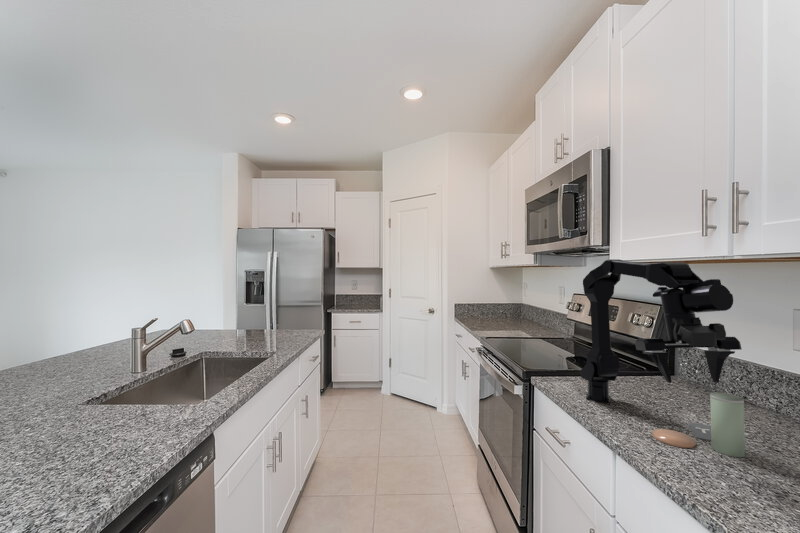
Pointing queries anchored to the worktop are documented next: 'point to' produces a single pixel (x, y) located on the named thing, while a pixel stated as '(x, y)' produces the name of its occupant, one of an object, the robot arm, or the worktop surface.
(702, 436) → the tile
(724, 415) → the green tumbler
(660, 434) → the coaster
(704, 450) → the worktop surface
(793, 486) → the worktop surface
